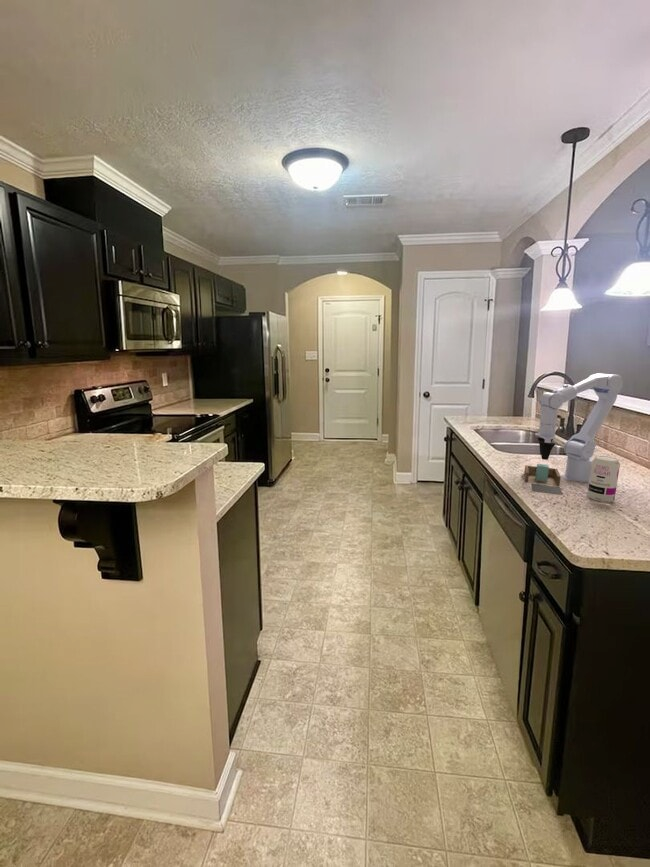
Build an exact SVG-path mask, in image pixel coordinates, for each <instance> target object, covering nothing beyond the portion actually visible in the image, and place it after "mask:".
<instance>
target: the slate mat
mask: <svg viewBox="0 0 650 867" xmlns="http://www.w3.org/2000/svg"><path fill="white" fill-rule="evenodd" d="M531 489H532V490H531V491H532V492H534V493H536V492H537V493H543V494H552V495H559V496H564V494H563V492H562V489H561V486H557V485H549V484H540V483H531Z"/></svg>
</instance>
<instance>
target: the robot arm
mask: <svg viewBox="0 0 650 867" xmlns="http://www.w3.org/2000/svg"><path fill="white" fill-rule="evenodd" d="M623 382H624V381H623V379H622V376H621V375H619V374H617V373H616V374H609V373H601V372H597V373H594V374H591V375H589V376H588V377H587V378H586V379H583V380H581V381H579V382H577V383H576V384H574V385H571V384H563V385H562V387H560V388H557V389H552V391H551V392H544V393H543V394H541V396H540V398H539V399H538V404H539V405H540V420H539V427H538V432H535V433H534V434H535V437H536V438H537V441H538V445H539V454H540V456H541V460H546V461H547V460H549V457H550V455H551V452H552V450H553V448H554V447H555V446H556V443H555V442H552V441H553V440H554V439H555V438H556V430H557V421H558V420H557V419H558V415H559V414H558V413H559V409H560V408H562V406H563V404H564V403H567V402H568V401H571V400H573V399H575V398H576V397H577V395H578V394H580V393H582V392H585V391H588V390H590V389H592V390H593V392H594V394H596V396H597V397H598V400H597V402H596V403H595V405H594V407H593V408H592V410H591V412H590V413H589V415H588V417H587V418H586V420H585V422H584V423H583V426H582V427H581V428H580V430H579V432H578V433H576V434H573V435H572V436H571V437H570V438H569V439H568V440H567V441H566V442H565V444H564V446H563V449H564V453H566V458H567V459H566V463H565V464H566V466H565V473H563V474H562V476H563V478H564V480H566V481H575V482H583V483H589V479H590V472H591V465H592V461H593V459H591V458H592V457H593V455H594V453H595V449H596V446H597V443H596V441H595V440H594V438H595V436H596V435H597V433H598V432H599V430H600V428H601V426H602V425H603V423H604V422H605V420H606V418H607V416H608V415H609V413H610V411H611V409H613V406H614V404H615V403H616V401H617V398H618V394H619V392H620V391H621V390H622V389H623V386H624V383H623Z"/></svg>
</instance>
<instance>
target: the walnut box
mask: <svg viewBox="0 0 650 867" xmlns="http://www.w3.org/2000/svg"><path fill="white" fill-rule="evenodd" d="M536 469H537V465H536V466H534V465H524V481H525V482H526V483H532V484H541V485H549V486H557V487H560V482H561V474H560V472H559V469H558V468H554V467H549V471H548V479H547V482H543V481H536V478H535V477H536Z"/></svg>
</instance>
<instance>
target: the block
mask: <svg viewBox="0 0 650 867" xmlns="http://www.w3.org/2000/svg"><path fill="white" fill-rule="evenodd" d="M536 466H537V469H536V477H535V478H536V481H543V482H547V479H548V471H549V468H550V466H549V464H543V463H536Z"/></svg>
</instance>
